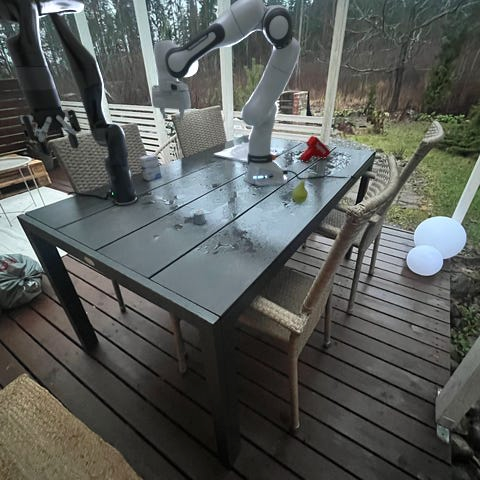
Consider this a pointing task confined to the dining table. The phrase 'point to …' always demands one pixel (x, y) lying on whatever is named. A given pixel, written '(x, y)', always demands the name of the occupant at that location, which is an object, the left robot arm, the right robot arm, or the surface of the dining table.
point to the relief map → (237, 153)
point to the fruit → (300, 192)
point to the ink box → (150, 167)
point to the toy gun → (315, 149)
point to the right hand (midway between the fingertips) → (173, 119)
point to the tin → (199, 217)
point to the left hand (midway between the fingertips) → (61, 151)
